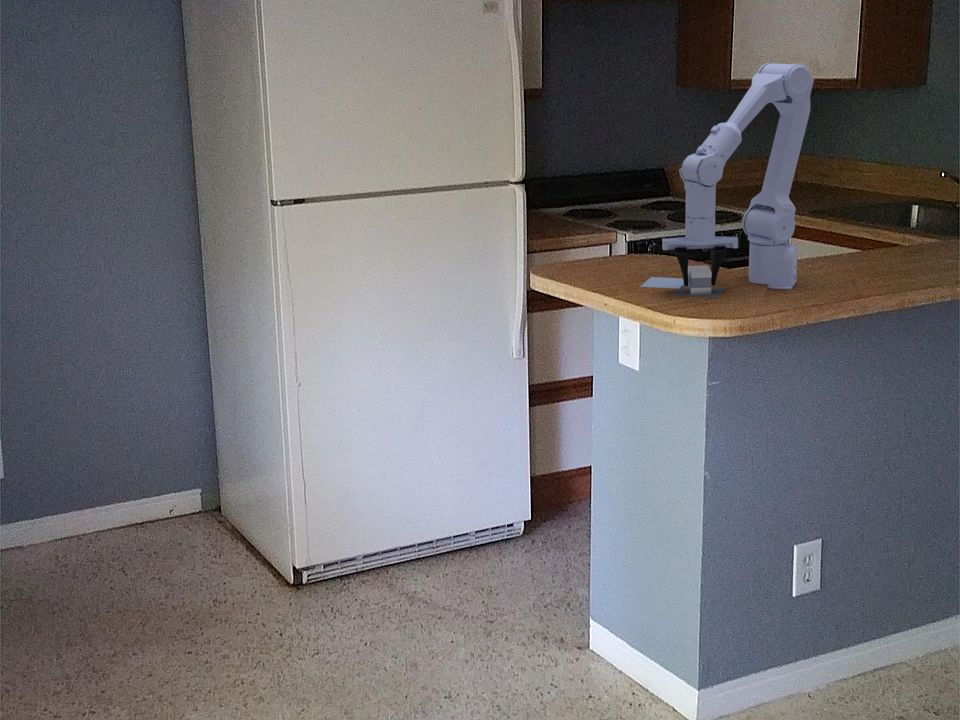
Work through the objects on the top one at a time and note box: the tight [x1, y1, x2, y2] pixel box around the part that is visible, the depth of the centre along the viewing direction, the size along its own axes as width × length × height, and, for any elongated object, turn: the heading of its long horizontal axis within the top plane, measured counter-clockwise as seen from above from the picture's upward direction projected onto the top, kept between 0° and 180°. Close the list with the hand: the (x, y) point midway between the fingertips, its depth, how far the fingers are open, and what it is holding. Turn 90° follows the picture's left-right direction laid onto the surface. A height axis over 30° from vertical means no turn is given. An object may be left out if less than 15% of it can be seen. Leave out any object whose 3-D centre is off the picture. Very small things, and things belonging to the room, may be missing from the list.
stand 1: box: [639, 276, 685, 290], centre depth 248 cm, size 9×9×1 cm
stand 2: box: [671, 285, 727, 299], centre depth 240 cm, size 9×9×1 cm
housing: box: [687, 265, 712, 295], centre depth 239 cm, size 6×4×4 cm, turn 177°
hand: (699, 284), depth 239 cm, fingers open, 5 cm apart
